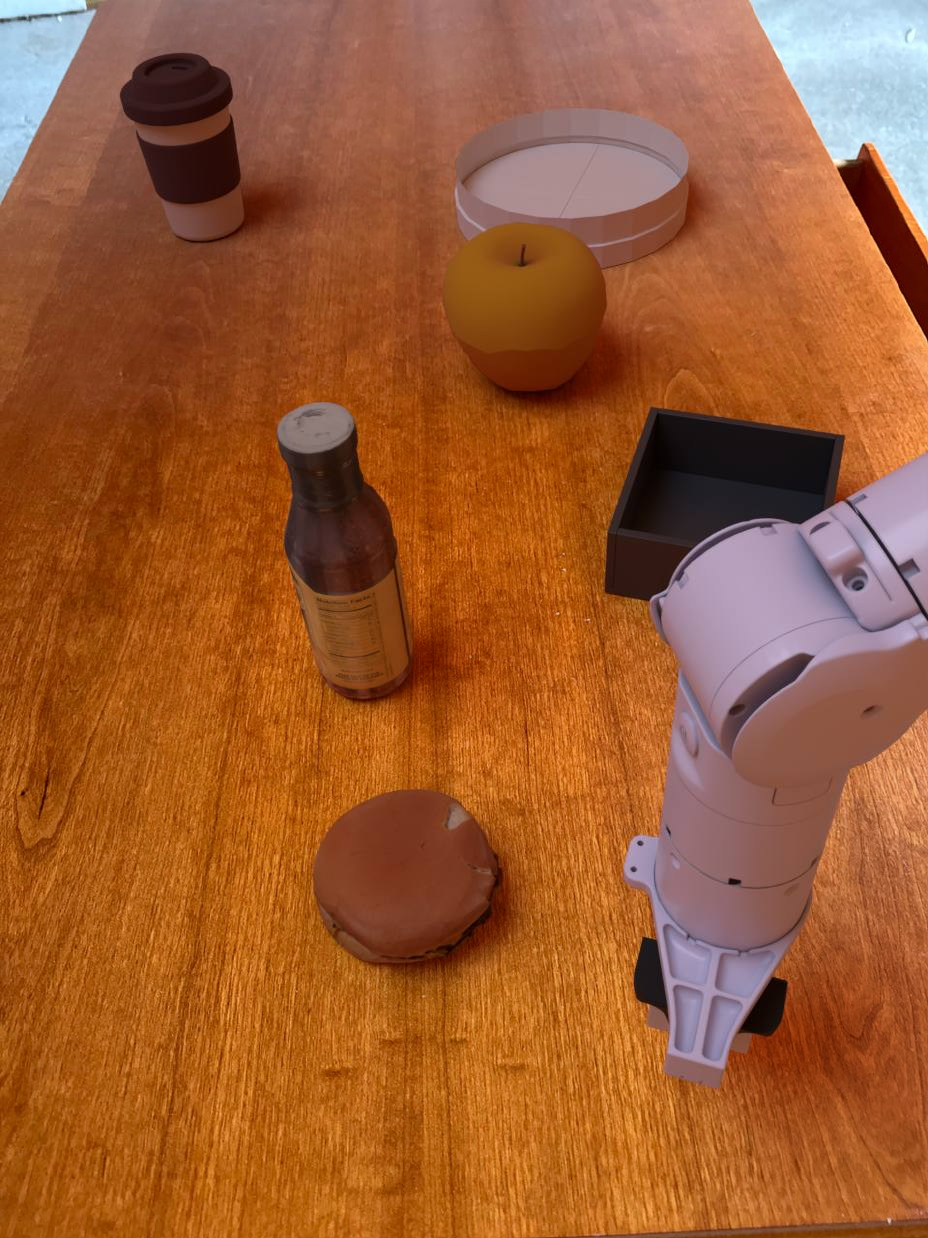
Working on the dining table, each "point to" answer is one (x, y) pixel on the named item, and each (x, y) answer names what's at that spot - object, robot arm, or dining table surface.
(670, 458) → the bin
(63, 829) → the dining table surface
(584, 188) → the dish
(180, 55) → the coffee cup
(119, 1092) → the dining table surface
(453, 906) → the chocolate glazed sandwich cookie
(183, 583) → the dining table surface
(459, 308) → the apple
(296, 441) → the sauce bottle
